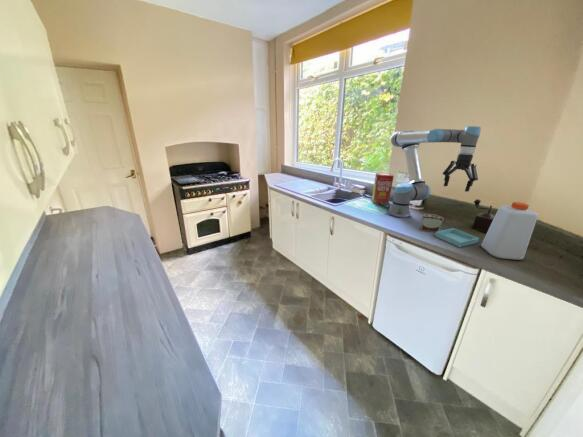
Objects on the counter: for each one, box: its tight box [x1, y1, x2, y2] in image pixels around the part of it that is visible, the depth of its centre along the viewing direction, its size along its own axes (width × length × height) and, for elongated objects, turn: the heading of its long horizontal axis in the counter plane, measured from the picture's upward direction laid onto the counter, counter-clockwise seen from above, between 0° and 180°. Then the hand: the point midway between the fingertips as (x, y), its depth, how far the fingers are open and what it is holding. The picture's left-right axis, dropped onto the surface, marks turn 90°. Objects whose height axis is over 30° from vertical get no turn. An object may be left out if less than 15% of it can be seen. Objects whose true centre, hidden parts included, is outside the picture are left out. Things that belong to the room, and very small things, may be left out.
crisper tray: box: [434, 227, 480, 248], centre depth 140 cm, size 15×16×3 cm
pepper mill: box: [471, 198, 495, 233], centre depth 156 cm, size 16×11×18 cm
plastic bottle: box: [481, 201, 539, 261], centre depth 121 cm, size 15×15×28 cm
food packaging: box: [371, 172, 394, 205], centre depth 203 cm, size 13×9×25 cm
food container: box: [421, 213, 444, 233], centre depth 152 cm, size 12×6×10 cm, turn 71°
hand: (455, 188), depth 148 cm, fingers open, 13 cm apart
